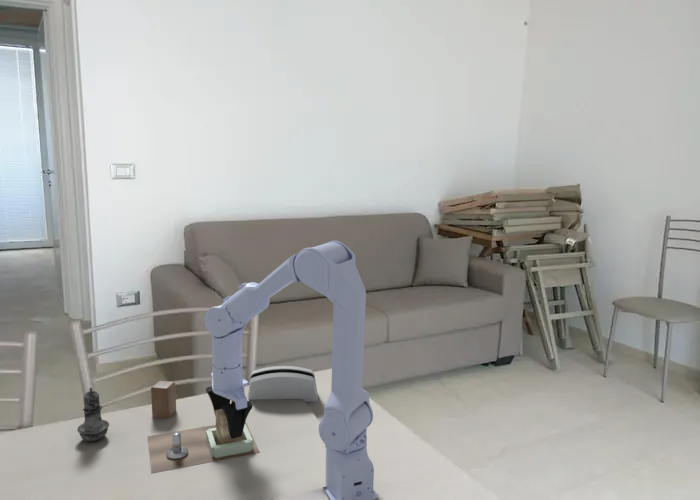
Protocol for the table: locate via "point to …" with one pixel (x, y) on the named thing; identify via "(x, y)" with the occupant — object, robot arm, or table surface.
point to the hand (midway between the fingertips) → (229, 428)
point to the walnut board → (194, 444)
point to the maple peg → (223, 429)
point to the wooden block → (163, 399)
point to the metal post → (176, 448)
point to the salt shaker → (92, 418)
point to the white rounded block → (283, 384)
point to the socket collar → (229, 444)
